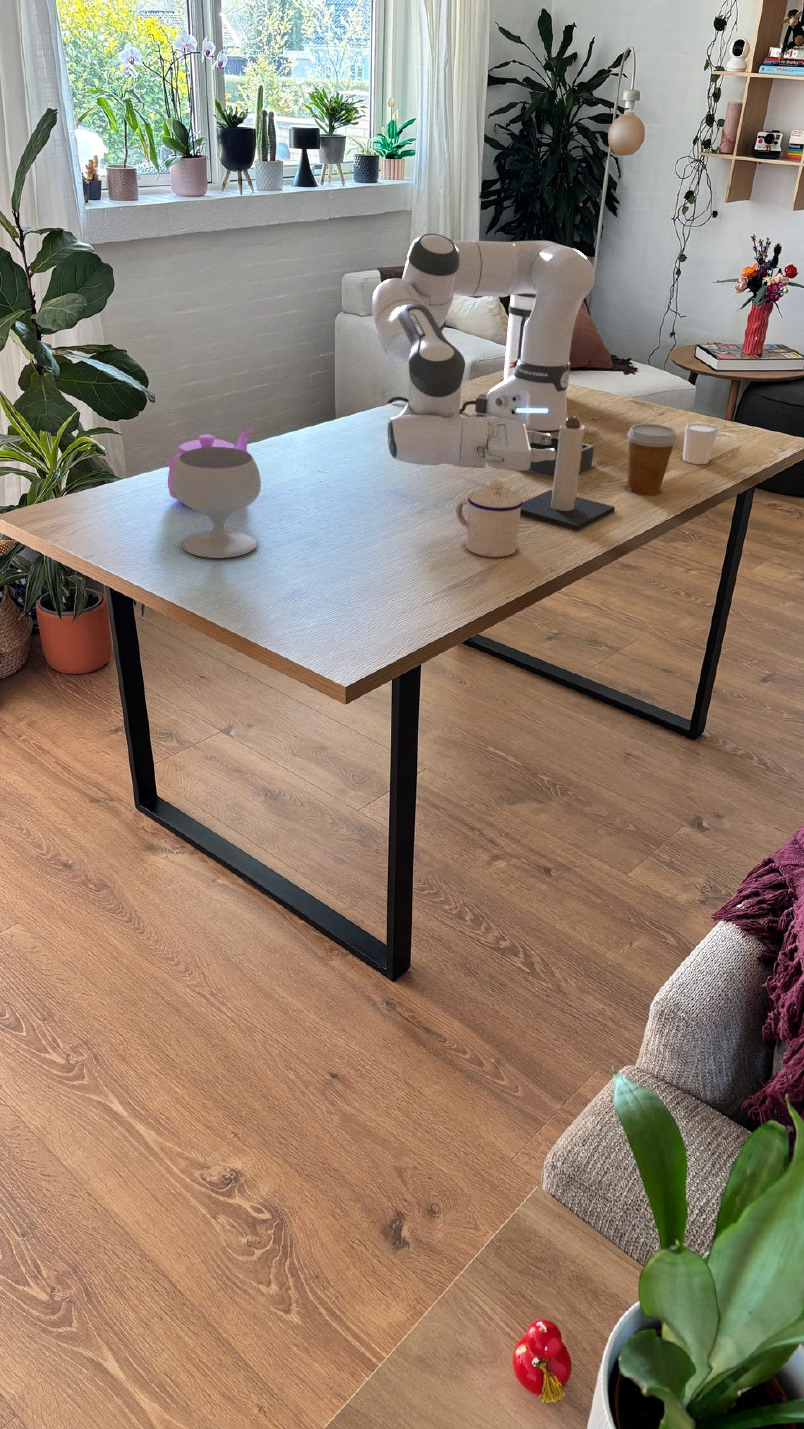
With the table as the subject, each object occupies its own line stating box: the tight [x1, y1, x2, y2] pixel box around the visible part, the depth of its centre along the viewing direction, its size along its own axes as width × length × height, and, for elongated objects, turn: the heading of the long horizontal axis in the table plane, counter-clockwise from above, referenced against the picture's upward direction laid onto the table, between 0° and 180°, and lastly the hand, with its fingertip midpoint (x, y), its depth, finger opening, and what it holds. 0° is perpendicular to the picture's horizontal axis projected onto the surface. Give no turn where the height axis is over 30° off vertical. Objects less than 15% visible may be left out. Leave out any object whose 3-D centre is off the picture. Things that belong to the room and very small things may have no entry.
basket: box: [528, 435, 595, 478], centre depth 225 cm, size 13×13×5 cm
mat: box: [520, 489, 616, 532], centre depth 202 cm, size 14×14×1 cm
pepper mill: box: [551, 415, 586, 511], centre depth 198 cm, size 4×4×17 cm
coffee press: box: [500, 294, 536, 382], centre depth 276 cm, size 17×16×30 cm
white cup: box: [682, 423, 719, 465], centre depth 234 cm, size 7×7×7 cm
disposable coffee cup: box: [626, 423, 678, 496], centre depth 213 cm, size 10×10×12 cm
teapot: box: [167, 427, 254, 502], centre depth 198 cm, size 20×13×12 cm, turn 141°
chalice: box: [173, 447, 262, 559], centre depth 176 cm, size 14×14×15 cm
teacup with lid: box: [455, 480, 524, 558], centre depth 183 cm, size 12×9×12 cm
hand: (553, 446), depth 196 cm, fingers open, 8 cm apart
